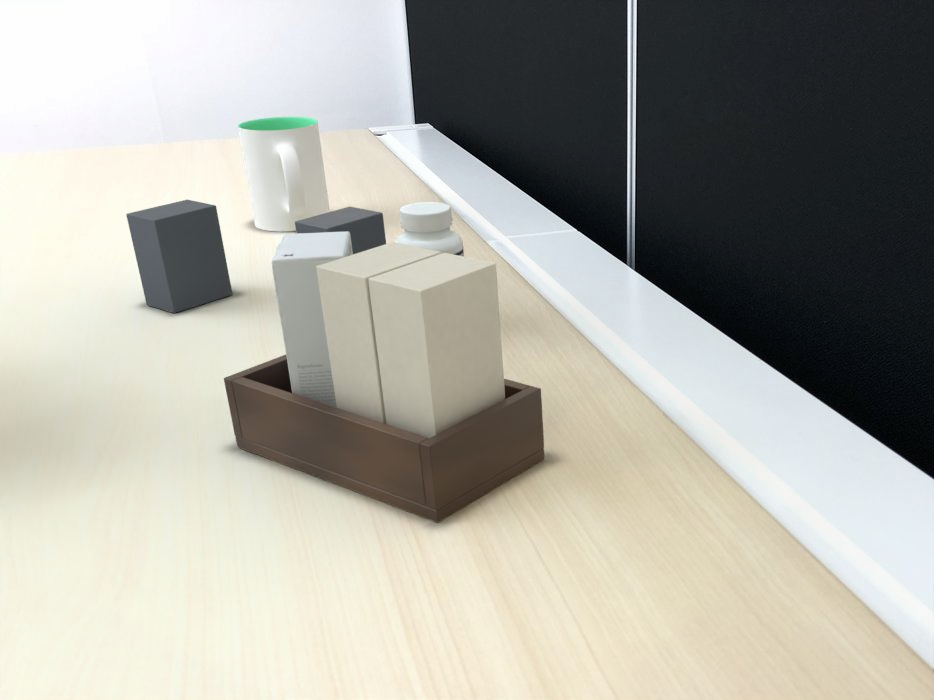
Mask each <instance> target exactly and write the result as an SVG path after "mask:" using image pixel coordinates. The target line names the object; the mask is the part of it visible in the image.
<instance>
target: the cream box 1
mask: <svg viewBox="0 0 934 700" xmlns="http://www.w3.org/2000/svg"><path fill="white" fill-rule="evenodd" d="M439 254H441V252H439V251H434V250H429V249H424V248H419V247H415V246H410V245H405V244H400V243H395V241H391V242H389V243H386V244H385V245H382V246H379V247H375V248H372V249H369V250H366V251H363V252H360V253H356V254H353V255H350V256H347V257H344V258H341V259H338V260H334V261H331V262H328V263H325V264H322V265H319V266H316V270H317V277H318V283H319V290H320V297H321V304H322V310H323V317H324V324H325V331H326V337H327V344H328V351H329V357H330V364H331V371H332V378H333V384H334V391H335V398H336V405H337V408H339V409H342V410H345V411H348V412H351V413H354V414H357V415H360V416H363V417H366V418H369V419H372V420H375V421H378V422H382V423H385V424H387V423H386V415H385V407H384V400H383V392H382V384H381V376H380V368H379V360H378V352H377V344H376V336H375V328H374V321H373V313H372V305H371V297H370V289H369V281H368V279H369V278H371V277H374V276H377V275H380V274H383V273H386V272H389V271H392V270H395V269H398V268H401V267H404V266H407V265H409V264H412V263H415V262H418V261H421V260H424V259H427V258H430V257H433V256H436V255H439Z"/></svg>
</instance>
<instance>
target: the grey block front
mask: <svg viewBox="0 0 934 700" xmlns="http://www.w3.org/2000/svg"><path fill="white" fill-rule="evenodd" d="M384 221H385V220H384V213H383V212H382V211H375V210H369V209H365V208H359V207H353V206H346V207H343V208H340V209H337V210H335V209H334V210H331V211H330V212H328V213H324V214H321V215H317V216H313V217H310V218H306V219H302V220H299V221H295V228H296V231H295V234H297V233H323V232H346V231H348V232H350V237H351V244H352V251H353V254H356V253H360V252H363V251H366V250H369V249H372V248H375V247H379V246H382V245H385V244H387V239H386V237H387V236H386V229H385V222H384Z"/></svg>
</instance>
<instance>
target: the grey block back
mask: <svg viewBox="0 0 934 700" xmlns="http://www.w3.org/2000/svg"><path fill="white" fill-rule="evenodd" d="M125 215H126V221H127V224H128V228H129V233H130V238H131V242H132V247H133V251H134V256H135V259H136V263H137V267H138V268H137V269H138V272H139V279H140V282H141V286H142V291H143V294H144V298H145V305H146V306H148V307H152V308H156V309H159V310H162V311H164V312H165V311H166V312H169V313H173V314H176V313H180V312H183V311H186V310H189V309H192V308H195V307H198V306H202V305H205V304H208V303H211V302H214V301H218V300H221V299H224V298H227V297H229V296H233V291H232V290H233V289H232V284H231V279H230V273H229V267H228V263H227V257H226V253H225V252H226V251H225V246H224V241H223V235H222V231H221V225H220V220H219V215H218V209H217V205H215V204H210V203H205V202H202V201H196V200H191V199H184V200H179V201H175V202H171V203H166V204H162V205H158V206H153V207H149V208H145V209H141V210H137V211H132V212H128V213H126V214H125Z"/></svg>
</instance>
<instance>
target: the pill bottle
mask: <svg viewBox="0 0 934 700" xmlns="http://www.w3.org/2000/svg"><path fill="white" fill-rule="evenodd" d="M399 219H400V220H399V221H400V227H401V229H403V230H404V232H402V233H401V234H399V235H398V236H397V237H396V239H395V241H394V242H395V243H400V244H405V245H410V246H415V247H419V248H424V249H429V250H434V251H439V252H441V254H442V253H449V254H453V255H458V256H463V257H465V254H464V253H465V251H464V243H463V242H464V241H463V239H462V237H461V235H460V234H459V233H458V232H456V231H454V230H452V229H451V226H452V225H453V213H452V207H451V205H450V204H448V203H446V202H439V201H422V202H421V201H419V202H414V203H408V204H405V205H403V206H401V207H400V208H399Z"/></svg>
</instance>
